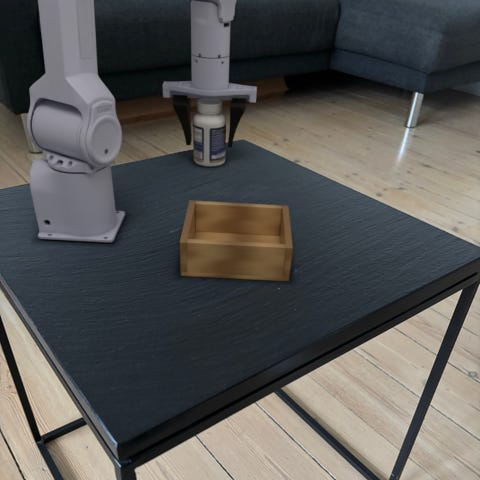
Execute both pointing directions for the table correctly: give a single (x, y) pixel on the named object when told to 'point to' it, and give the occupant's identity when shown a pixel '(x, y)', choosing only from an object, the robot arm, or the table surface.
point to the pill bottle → (209, 133)
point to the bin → (236, 241)
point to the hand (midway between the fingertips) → (209, 144)
